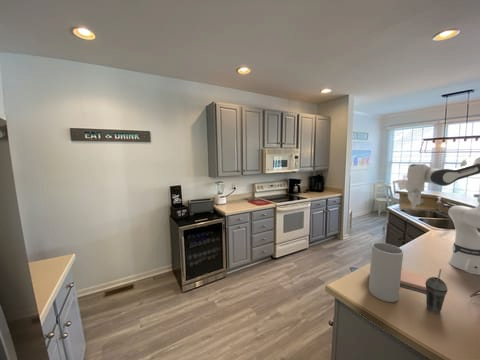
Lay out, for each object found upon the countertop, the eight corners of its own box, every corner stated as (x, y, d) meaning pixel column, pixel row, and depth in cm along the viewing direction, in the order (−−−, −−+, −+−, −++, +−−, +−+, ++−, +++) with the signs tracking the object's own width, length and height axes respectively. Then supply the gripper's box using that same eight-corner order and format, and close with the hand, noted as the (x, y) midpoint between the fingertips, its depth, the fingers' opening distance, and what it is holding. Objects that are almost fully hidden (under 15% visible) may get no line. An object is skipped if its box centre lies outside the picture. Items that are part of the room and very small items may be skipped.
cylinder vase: (363, 286, 108) (366, 242, 105) (386, 286, 108) (390, 242, 105) (378, 302, 96) (383, 253, 93) (404, 303, 95) (410, 254, 92)
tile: (428, 275, 114) (435, 289, 102) (427, 278, 114) (434, 293, 102) (395, 267, 122) (398, 279, 110) (395, 270, 123) (397, 283, 110)
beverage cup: (418, 304, 95) (422, 265, 92) (432, 303, 95) (437, 264, 93) (434, 316, 87) (439, 274, 85) (449, 315, 88) (454, 273, 86)
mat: (431, 281, 113) (431, 280, 113) (439, 297, 99) (440, 296, 99) (392, 271, 122) (392, 270, 122) (394, 284, 109) (394, 284, 109)
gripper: (425, 190, 119) (422, 212, 120) (418, 186, 136) (416, 206, 137) (411, 189, 122) (409, 211, 124) (406, 186, 139) (404, 205, 141)
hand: (413, 208), depth 130 cm, fingers closed
